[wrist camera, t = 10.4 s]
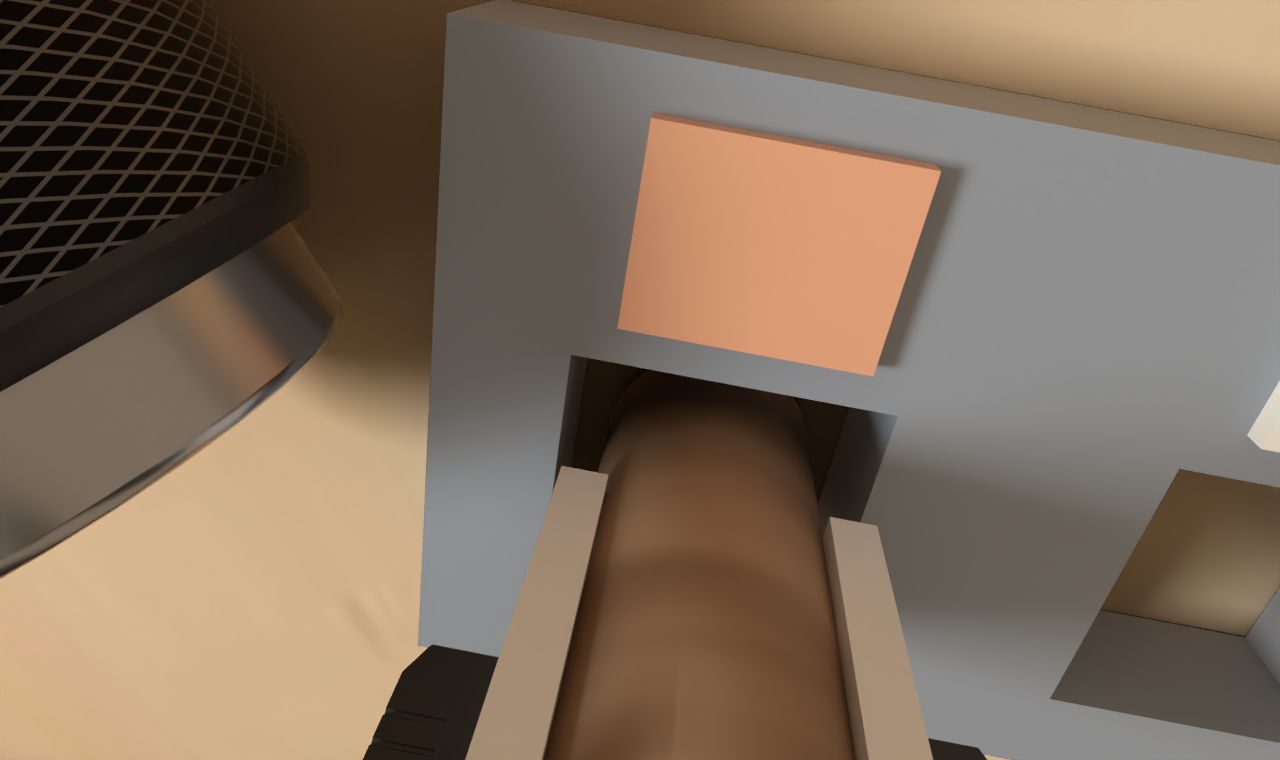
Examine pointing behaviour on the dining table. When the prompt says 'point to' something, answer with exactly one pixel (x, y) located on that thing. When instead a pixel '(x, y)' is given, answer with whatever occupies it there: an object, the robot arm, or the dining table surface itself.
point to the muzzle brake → (138, 255)
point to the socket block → (871, 345)
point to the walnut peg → (704, 588)
